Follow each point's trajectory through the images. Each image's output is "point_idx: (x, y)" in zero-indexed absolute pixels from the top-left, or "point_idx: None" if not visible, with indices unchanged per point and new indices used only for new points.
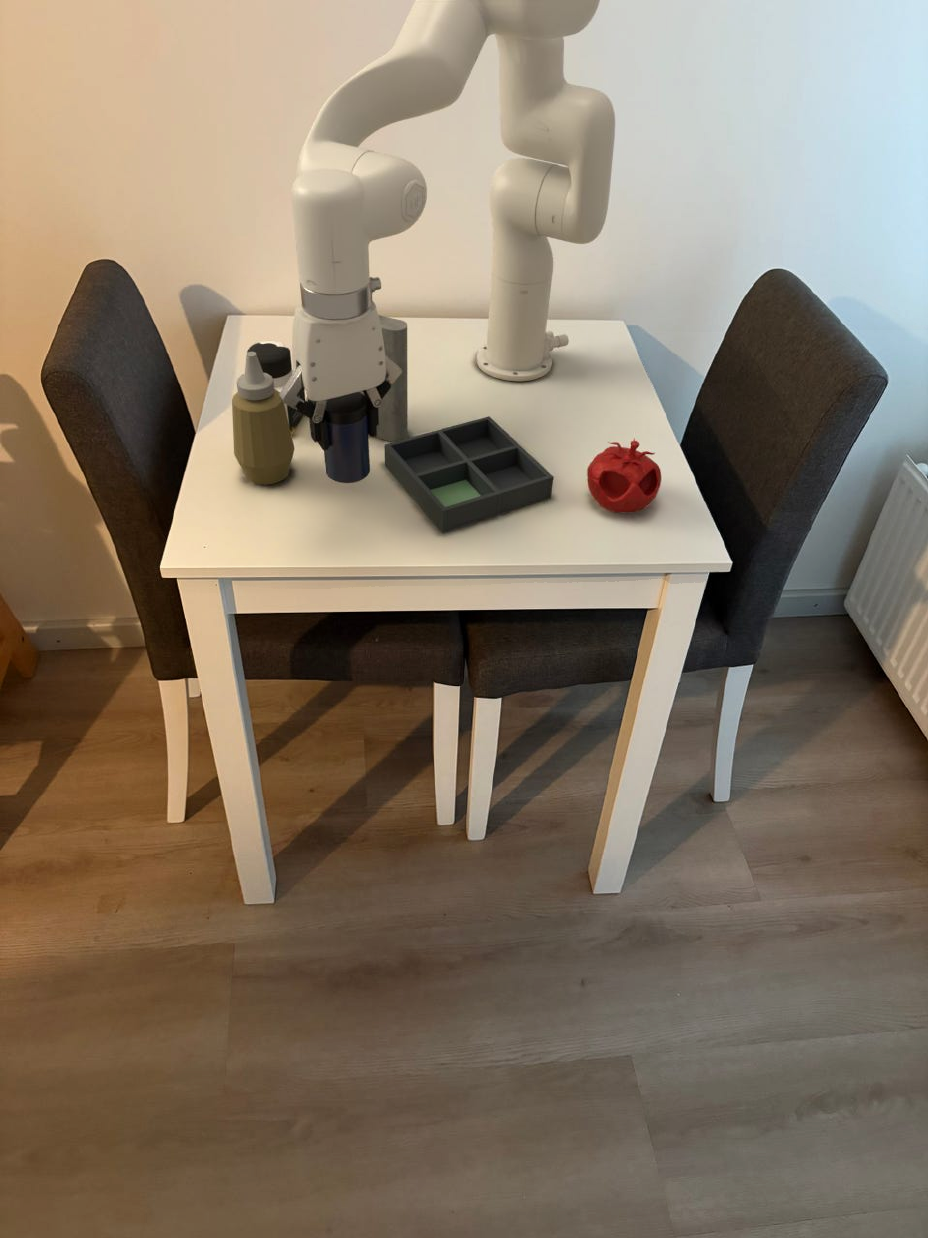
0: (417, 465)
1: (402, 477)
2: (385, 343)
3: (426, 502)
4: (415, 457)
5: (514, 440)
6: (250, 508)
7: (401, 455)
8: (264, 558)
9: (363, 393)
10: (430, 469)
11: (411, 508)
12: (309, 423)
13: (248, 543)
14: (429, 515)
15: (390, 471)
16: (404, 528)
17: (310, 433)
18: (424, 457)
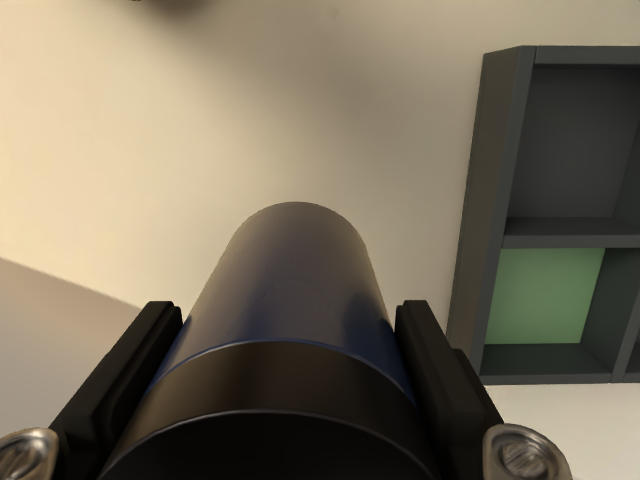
0: (555, 113)
1: (479, 175)
2: None
3: (464, 302)
4: (576, 73)
5: None
6: (69, 75)
7: (544, 67)
8: (74, 271)
9: (481, 465)
10: (570, 148)
11: (437, 252)
12: (69, 401)
13: (46, 210)
14: (453, 301)
15: (479, 94)
16: (386, 304)
17: (105, 356)
18: (597, 85)
